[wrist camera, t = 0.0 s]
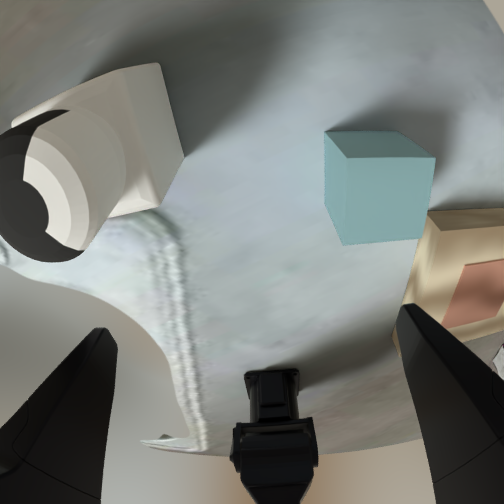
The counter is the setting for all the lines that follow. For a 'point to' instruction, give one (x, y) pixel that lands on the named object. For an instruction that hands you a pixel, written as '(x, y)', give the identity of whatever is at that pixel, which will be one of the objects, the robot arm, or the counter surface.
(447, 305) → the stack base
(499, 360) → the candy bar box
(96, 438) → the robot arm
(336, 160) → the teal block
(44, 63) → the counter surface
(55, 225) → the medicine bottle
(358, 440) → the counter surface
